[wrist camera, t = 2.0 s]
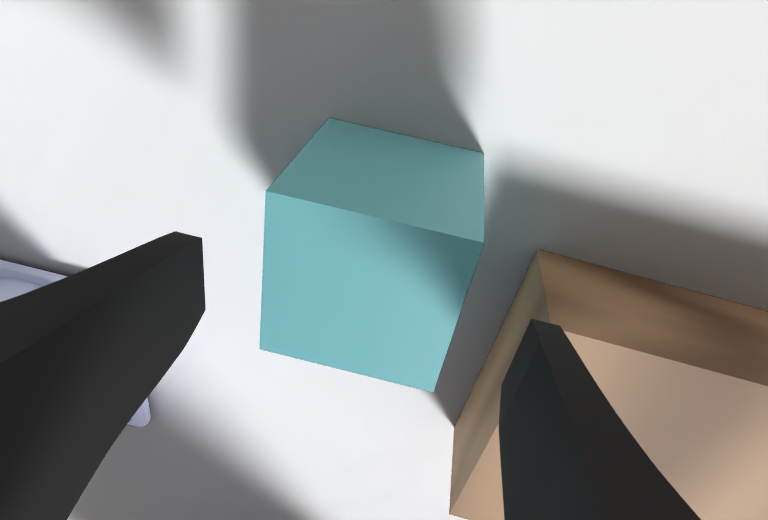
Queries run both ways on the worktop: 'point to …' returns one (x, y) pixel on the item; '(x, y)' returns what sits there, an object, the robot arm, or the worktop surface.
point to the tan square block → (638, 384)
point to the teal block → (371, 252)
